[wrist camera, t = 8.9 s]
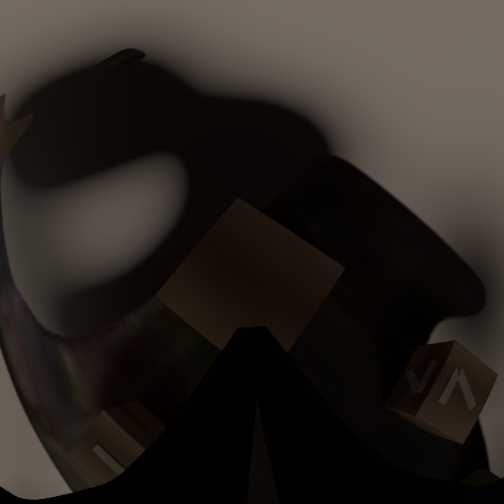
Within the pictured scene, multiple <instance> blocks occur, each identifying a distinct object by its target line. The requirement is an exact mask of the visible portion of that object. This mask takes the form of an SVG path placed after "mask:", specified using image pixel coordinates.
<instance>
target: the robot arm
mask: <svg viewBox="0 0 504 504" xmlns="http://www.w3.org/2000/svg"><path fill="white" fill-rule="evenodd" d="M256 391H257V399H258V405H259V410H260V415H261V420H262V424H263V429H264V434H265V439H266V443H267V448H268V453H269V457H270V462H271V467H272V471H273V476H274V480H275V485H276V489H277V494H278V498H279V502H280V504H504V478H502V479H501V480H499V481H497V482H495V483H491V484H488V485H468V484H462V483H456V482H450V481H445V480H440V479H436V478H431V477H427V476H423V475H419V474H415V473H411V472H408V471H405V470H403V469H401V468H399V467H397V466H395V465H394V464H392V463H391V462H390V461H388V460H387V459H386V458H385V457H383V456H382V455H381V454H380V453H379V452H377V451H376V450H375V449H374V448H373V447H372V446H370V445H369V444H368V443H367V442H366V441H365V440H363V439H362V438H361V437H360V436H359V435H358V434H357V433H355V432H354V431H353V430H352V429H351V428H350V427H349V426H348V425H347V424H346V423H345V422H344V421H343V420H342V419H341V418H340V417H339V416H338V415H337V414H336V413H335V412H334V410H333V409H332V408H331V407H330V406H329V405H328V403H327V402H326V401H325V400H324V398H321V395H320V394H319V393H318V391H317V390H316V389H315V388H314V386H313V385H312V384H311V383H310V381H309V380H308V379H307V378H306V376H305V375H304V374H303V373H302V371H301V370H300V369H299V368H298V366H297V365H296V364H295V362H294V361H293V360H292V359H291V357H290V356H289V355H288V354H287V352H286V351H285V350H284V348H283V347H282V346H281V345H280V343H279V342H278V341H277V339H276V338H275V337H274V336H273V334H272V333H271V332H270V330H269V329H268V328H267V327H266V326H256V327H253V328H251V327H241V328H237V329H236V331H235V332H234V334H233V335H232V337H231V338H230V340H229V341H228V343H227V344H226V346H225V347H224V348H223V350H222V351H221V353H220V354H219V356H218V357H217V359H216V360H215V361H214V363H213V364H212V366H211V367H210V369H209V370H208V371H207V373H206V374H205V376H204V377H203V379H202V380H201V381H200V383H199V384H198V386H197V387H196V388H195V390H194V391H193V393H192V394H191V395H190V397H189V398H188V400H187V401H186V402H185V406H182V408H181V409H180V411H179V412H178V413H177V415H176V416H175V417H174V419H173V420H172V421H171V422H170V424H169V425H168V426H167V427H166V429H165V430H164V431H163V432H162V433H161V434H160V435H159V436H158V437H157V438H156V440H155V441H154V442H153V443H152V444H151V445H150V446H149V447H148V448H147V449H146V450H145V451H144V452H143V453H142V454H141V455H140V456H139V457H138V458H137V459H136V460H135V461H134V462H133V463H132V464H131V465H130V466H129V467H128V468H127V469H126V470H124V471H123V472H122V473H121V474H120V475H118V476H117V477H116V478H114V479H113V480H111V481H109V482H107V483H105V484H102V485H99V486H96V487H92V488H89V489H85V490H81V491H77V492H73V493H69V494H65V495H60V496H56V497H51V498H46V499H38V500H28V499H23V498H19V497H17V496H15V495H13V494H11V493H10V492H8V491H7V490H5V489H3V488H2V487H0V504H246V502H247V492H248V483H249V473H250V463H251V453H252V442H253V432H254V421H255V410H256Z"/></svg>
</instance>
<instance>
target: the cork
mask: <svg viewBox="0 0 504 504" xmlns="http://www.w3.org/2000/svg"><path fill="white" fill-rule="evenodd" d="M499 480H501V478H500V477H498V476H496V475H495V474H493V473H492V472H490V471H489V470H486V469H478V470H476V471H474V472H472V473H470V474H469V475H467V476H466V477H465V478H464V479H462V480H461V481H460V482H459V483H462V484H468V485H488V484H491V483H495V482H497V481H499Z"/></svg>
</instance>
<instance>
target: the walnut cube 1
mask: <svg viewBox="0 0 504 504" xmlns="http://www.w3.org/2000/svg"><path fill="white" fill-rule="evenodd" d="M166 427H167V426H166V425H165V424H164V423H163V422H161V421H160V420H159V419H158V418H157V417H156V416H155V415H153V414H152V413H151V412H150V411H149V410H148V409H147V408H146V407H144V406H143V405H142V404H141V403H140V402H139V401H138V400H135V401H132V402H128V403H125V404H121V405H118V406H114V407H110V408H106V409H103V410H102V411H101V413H100V414H99V415H98V417H97V418H96V419H95V421H94V422H93V423H92V425H91V426H90V427H89V429H88V430H87V431H86V433H85V434H84V435H83V437H82V438H81V439H80V441H79V442H78V443H77V445H76V446H75V447H74V449H73V450H72V451H71V453H70V454H69V456H70V458H71V459H72V460H73V461H74V462H75V463H76V464H77V465H78V466H79V467H80V468H81V469H82V470H83V471H84V472H85V473H86V474H87V475H88V476H89V477H90V478H91V479H92V480H93V481H94V482H95V483H96V484H97V485H98V486H99V485H102V484H105V483H107V482H109V481H111V480H113V479H114V478H116V477H117V476H118V475H120V474H121V473H122V472H123V471H124V470H126V469H127V468H128V467H129V466H130V465H131V464H132V463H133V462H134V461H135V460H136V459H137V458H138V457H139V456H140V455H141V454H142V453H143V452H144V451H145V450H146V449H147V448H148V447H149V446H150V445H151V444H152V443H153V442H154V441H155V440H156V438H157V437H158V436H159V435H160V434H161V433H162V432H163V431H164V430H165V429H166Z"/></svg>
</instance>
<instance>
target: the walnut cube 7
mask: <svg viewBox="0 0 504 504" xmlns="http://www.w3.org/2000/svg"><path fill="white" fill-rule="evenodd" d="M497 376H498V375H497V374H496V373H495V372H494V371H493V370H491V369H490V368H489V367H488V366H487V365H485V364H484V363H483V362H482V361H481V360H479V359H478V358H477V357H476V356H475V355H473V354H472V353H471V352H470V351H469V350H467V349H466V348H465V347H464V346H462V345H461V344H460V343H459V342H457V341H456V340H454V341H448V342H441V343H434V344H427V345H420V346H418V347H417V349H416V351H415V353H414V354H413V356H412V358H411V360H410V362H409V363H408V365H407V367H406V369H405V370H404V372H403V374H402V375H401V377H400V379H399V380H398V382H397V384H396V385H395V387H394V388H393V390H392V391H391V393H390V395H389V396H388V398H387V399H386V401H385V402H384V404H383V405H384V406H386V407H387V408H389V409H390V410H392V411H394V412H395V413H397V414H398V415H400V416H402V417H403V418H405V419H407V420H408V421H410V422H412V423H413V424H415V425H417V426H418V427H420V428H422V429H423V430H425V431H427V432H430V433H432V434H435V435H438V436H440V437H443V438H446V439H449V440H452V441H455V442H458V443H461V444H463V443H464V441H465V440H466V438H467V436H468V435H469V433H470V431H471V429H472V428H473V426H474V424H475V422H476V420H477V418H478V416H479V414H480V412H481V410H482V409H483V407H484V405H485V403H486V400H487V398H488V396H489V394H490V392H491V390H492V387H493V385H494V383H495V380H496V378H497Z"/></svg>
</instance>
